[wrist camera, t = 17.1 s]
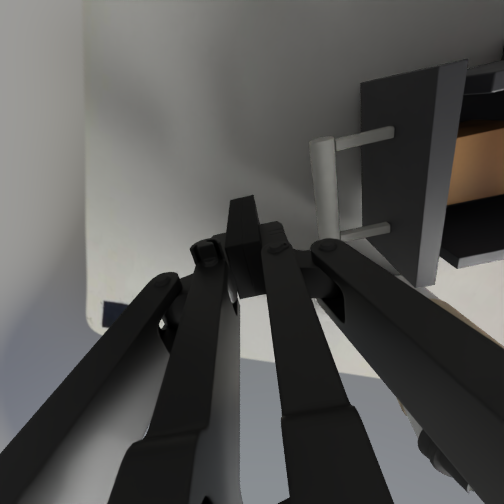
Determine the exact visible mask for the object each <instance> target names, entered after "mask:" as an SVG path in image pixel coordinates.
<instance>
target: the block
mask: <svg viewBox="0 0 504 504" xmlns="http://www.w3.org/2000/svg"><path fill="white" fill-rule="evenodd" d="M501 194H504V121H497V120H474V119H473V120H469V121H464V122H460V123H459V127H458V133H457V140H456V147H455V154H454V160H453V167H452V174H451V180H450V187H449V194H448V200H447V205H451V204H456V203H461V202H466V201H471V200H476V199H481V198H486V197H491V196H496V195H501Z"/></svg>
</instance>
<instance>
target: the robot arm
mask: <svg viewBox="0 0 504 504" xmlns="http://www.w3.org/2000/svg"><path fill="white" fill-rule="evenodd" d="M310 249H311V250H307V251H304V250H296V249H293V248H292V245H291V244H290V243H289V242H288V240H287V237H286V234H285V231H284V229H283V226H282V224H281V223H279V222H278V221H274V222H270V223H265V224H260V223H259V218H258V214H257V209H256V204H255V200H254V195H251V196H247V197H242V198H238V199H233V200H230V207H229V215H228V223H227V231H226V233H222V234H217V235H213V236H212V237H211V238H209V239H204V240H201V241H199V242H197V243H195V244H194V245H192V246H191V248H190V251H191V254H192V257H193V259H194V262H195V264H196V267H195V270H194V273H193V274H191V275H188V276H186V277H183V278H181V279H180V278H179V276H178V274H177V273H175V272H167V273H162V274H159V275H157V276H156V277H155V278H153V279H152V280H151V281H150V282H149V283H148V284H147V285H146V286H145V287H144V288H143V290H142V291H141V292H140V293H139V294H138V295H137V296H136V298H135V299H134V300H133V301H132V302H131V303H130V305H129V306H128V307H127V308H126V309H125V310H124V311H123V313H122V314H121V315H120V316H119V317H118V318H117V320H116V321H115V322H114V323H113V324H112V325H111V326H110V328H109V329H108V330H107V331H106V332H105V333H104V335H103V336H102V337H101V338H100V339H99V340H98V341H97V343H96V344H95V345H94V346H93V347H92V348H91V350H90V351H89V352H88V353H87V354H86V355H85V356H84V358H83V359H82V360H81V361H80V362H79V363H78V365H77V366H76V367H75V368H74V369H73V370H72V372H71V373H70V374H69V375H68V376H67V377H66V378H65V380H64V381H63V382H62V383H61V384H60V385H59V387H58V388H57V389H56V390H55V391H54V392H53V394H52V395H51V396H50V397H49V398H48V399H47V400H46V402H45V403H44V404H43V405H42V406H41V407H40V409H39V410H38V411H37V412H36V413H35V414H34V415H33V417H32V418H31V419H30V420H29V421H28V422H27V424H26V425H25V426H24V427H23V428H22V429H21V431H20V432H19V433H18V434H17V435H16V436H15V437H14V438H13V440H12V441H11V442H10V443H9V444H8V445H7V447H6V448H5V449H4V450H3V451H2V452H1V454H0V504H243V502H242V496H241V490H240V304H239V301H238V298H237V291H238V294H239V298H240V299H243V298H248V297H253V296H258V295H263V294H266V295H267V303H268V310H269V318H270V326H271V333H272V341H273V348H274V356H275V364H276V371H277V379H278V386H279V393H280V401H281V409H282V417H281V428H282V437H283V446H284V454H285V462H286V470H287V478H288V486H289V494H290V497H289V498H288V499H286V500H284V501H282V502H280V503H278V504H394V502H393V500H392V497H391V494H390V492H389V489H388V487H387V484H386V482H385V479H384V477H383V474H382V471H381V469H380V466H379V464H378V461H377V458H376V456H375V453H374V451H373V448H372V445H371V443H370V440H369V438H368V435H367V432H366V430H365V427H364V425H363V422H362V420H361V418H360V416H359V413H358V411H357V410H356V408H355V406H352V405H351V404H350V402H349V400H348V398H347V395H346V392H345V389H344V387H343V384H342V381H341V379H340V376H339V373H338V370H337V368H336V365H335V362H334V359H333V357H332V354H331V351H330V349H329V346H328V343H327V340H326V338H325V335H324V332H323V330H322V327H321V324H320V321H319V319H318V316H317V313H316V310H315V308H314V305H313V302H312V300H311V298H317V301H318V303H319V305H320V306H321V307H322V308H323V309H324V311H325V312H326V313H327V314H328V315H329V317H330V318H331V319H332V320H333V321H334V323H335V324H336V325H337V326H338V327H339V329H340V330H341V331H342V332H343V334H344V335H345V336H346V337H347V338H348V340H349V341H350V342H351V343H352V344H353V346H354V347H355V348H356V349H357V350H358V352H359V353H360V354H361V355H362V356H363V358H364V359H365V360H366V361H367V362H368V364H369V365H370V366H371V367H372V368H373V370H374V371H375V372H376V373H377V374H378V376H379V377H380V378H381V379H382V380H383V382H384V383H385V384H386V385H387V386H388V388H389V389H390V390H391V391H392V392H393V394H394V395H395V396H396V397H397V399H398V400H399V401H400V402H401V403H402V405H403V406H404V407H405V408H406V409H407V411H408V412H409V413H410V414H411V415H412V417H413V418H414V419H415V420H416V421H417V423H418V424H419V425H420V426H421V427H422V429H423V430H424V431H425V432H426V433H427V435H428V436H429V437H430V438H431V439H432V441H433V442H434V443H435V444H436V445H437V447H438V448H439V449H440V450H441V452H442V453H443V454H444V455H445V456H446V458H447V459H448V460H449V461H450V462H451V464H452V465H453V466H454V467H455V468H456V470H457V471H458V472H459V473H460V474H461V476H462V477H463V478H464V479H465V480H466V482H467V483H468V484H469V485H470V486H471V488H472V489H473V490H474V491H475V492H476V494H477V495H478V496H479V497H480V498H481V500H482V501H483V502H484V503H485V504H504V348H502V347H501V346H499V345H498V344H496V343H495V342H493V341H492V340H490V339H489V338H487V337H486V336H484V335H483V334H481V333H480V332H478V331H477V330H475V329H474V328H472V327H471V326H469V325H468V324H466V323H465V322H463V321H462V320H460V319H459V318H457V317H456V316H454V315H453V314H451V313H450V312H448V311H447V310H445V309H444V308H442V307H441V306H439V305H438V304H436V303H435V302H433V301H432V300H430V299H429V298H427V297H426V296H424V295H423V294H421V293H420V292H418V291H417V290H415V289H414V288H412V287H411V286H409V285H408V284H406V283H405V282H403V281H402V280H400V279H399V278H397V277H396V276H394V275H393V274H391V273H390V272H388V271H387V270H385V269H384V268H382V267H381V266H379V265H378V264H376V263H375V262H373V261H372V260H370V259H369V258H367V257H366V256H364V255H363V254H361V253H360V252H358V251H357V250H355V249H354V248H352V247H351V246H349V245H348V244H346V243H345V242H343V241H341V240H339V239H333V238H325V239H322V240H318V241H316V242H314V243H313V244H312V245H311V248H310ZM161 319H163V321H164V323H165V325H164V326H163V328H162V329H161V328H160V327H159V323H160V320H161ZM149 424H150V426H149ZM148 426H149V429H148V432H147V434H146V436H145V437H144V438H143V436H144V434H145V432H146V430H147V428H148ZM142 438H143V439H142Z"/></svg>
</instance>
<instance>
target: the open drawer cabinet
mask: <svg viewBox="0 0 504 504" xmlns="http://www.w3.org/2000/svg"><path fill="white" fill-rule="evenodd" d="M467 67H468V59H464V60H460V61H455V62H451V63H446V64H442V65H437V66H433V67H428V68H424V69H419V70H415V71H410V72H406V73H401V74H397V75H392V76H388V77H383V78H379V79H375V80H371V81H367V82H363V83H361V84H360V93H361V133H358V134H353V135H349V136H345V137H341V138H337V139H334V137H332V136H327V137H321V138H316V139H313V140H311V141H309V149H310V159H311V168H312V178H313V187H314V197H315V206H316V216H317V225H318V235H319V240H322V239H325V238H333V239H339V240H341V241H343V242H347V241H352V240H357V239H361V238H366V239H367V240H368V241H369V242H370V243H371V244H372V245H373V246H374V247H375V248H376V249H377V250H378V251H379V252H380V253H381V254H382V255H383V256H384V257H385V258H386V259H387V260H388V261H389V262H390V263H391V264H392V265H393V266H394V267H395V268H396V269H397V270H398V271H399V272H400V273H401V274H402V275H403V277H404V278H405V279H406V280H407V281H408V282H409V283H410V284H411V285H412V286H413V287H414V288H421V287H426V286H431V285H435V281H436V274H437V267H438V261H439V256H440V257H441V258H443V259H444V260H445V261H447V262H448V263H450V264H451V265H452V266H454V267H455V268H456V269H459V268H464V267H469V266H474V265H479V264H484V263H489V262H494V261H499V260H504V194H501V195H496V196H491V197H486V198H481V199H476V200H471V201H466V202H461V203H456V204H451V205H447V200H448V194H449V187H450V180H451V174H452V167H453V160H454V154H455V147H456V140H457V133H458V127H459V123H460V122H464V121H469V120H473V119H474V120H497V121H504V60H502V61H498V62H494V63H490V64H486V65H482V66H478V67H474V68H469V69H467ZM356 146H361V161H362V227H360V228H355V229H350V230H346V231H341V232H340V225H339V208H338V192H337V175H336V159H335V151H339V150H344V149H348V148H352V147H356Z"/></svg>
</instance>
